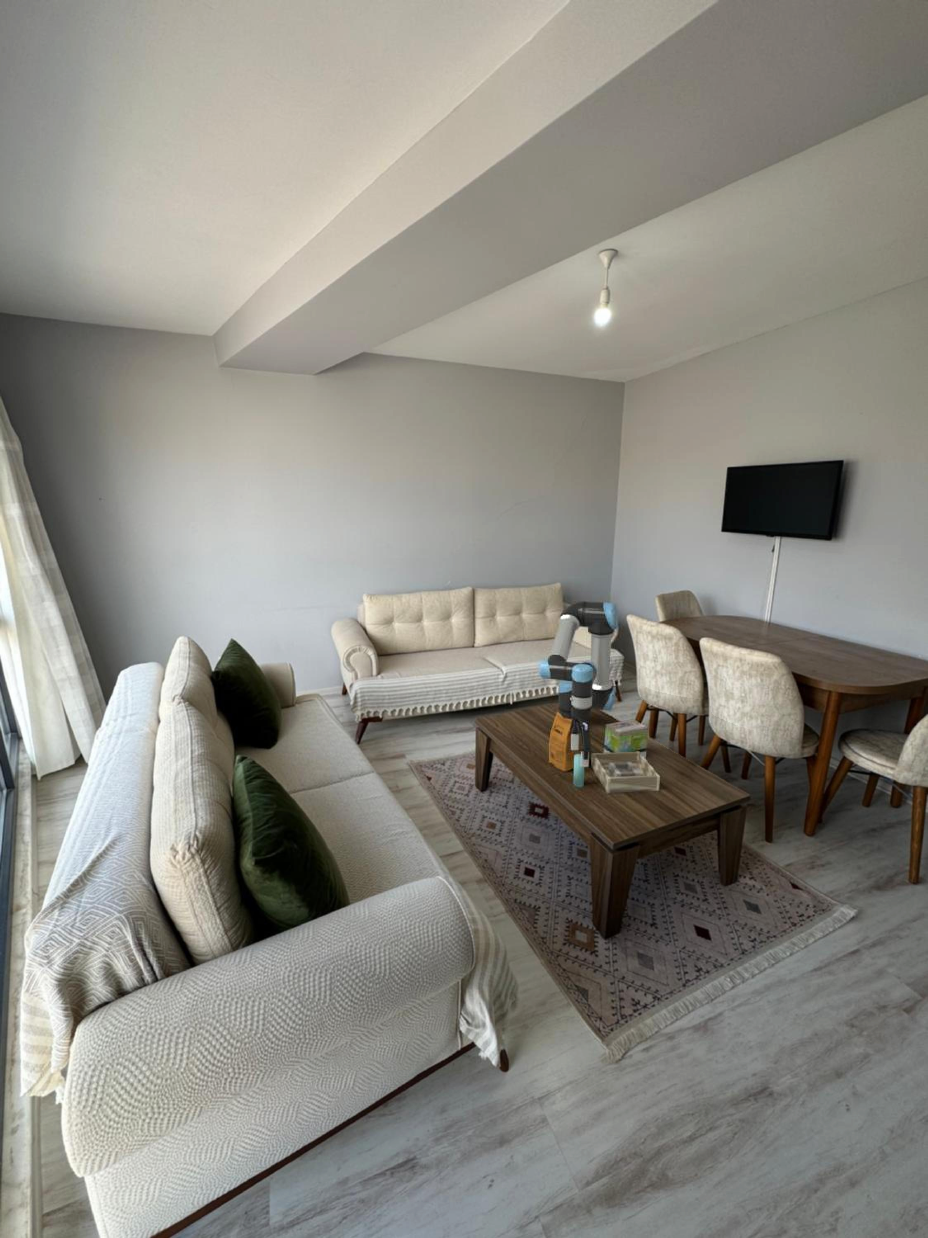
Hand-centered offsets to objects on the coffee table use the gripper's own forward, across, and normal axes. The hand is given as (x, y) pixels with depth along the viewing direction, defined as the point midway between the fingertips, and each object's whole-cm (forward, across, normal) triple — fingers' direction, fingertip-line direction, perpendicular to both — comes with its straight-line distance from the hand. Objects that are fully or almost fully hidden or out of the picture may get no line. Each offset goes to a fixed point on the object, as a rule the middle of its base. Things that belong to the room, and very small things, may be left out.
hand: (579, 757), depth 194 cm
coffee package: (+12, -16, -2) cm, 20 cm away
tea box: (+11, -20, +26) cm, 35 cm away
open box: (+11, -3, +19) cm, 23 cm away
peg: (+12, 0, 0) cm, 12 cm away
